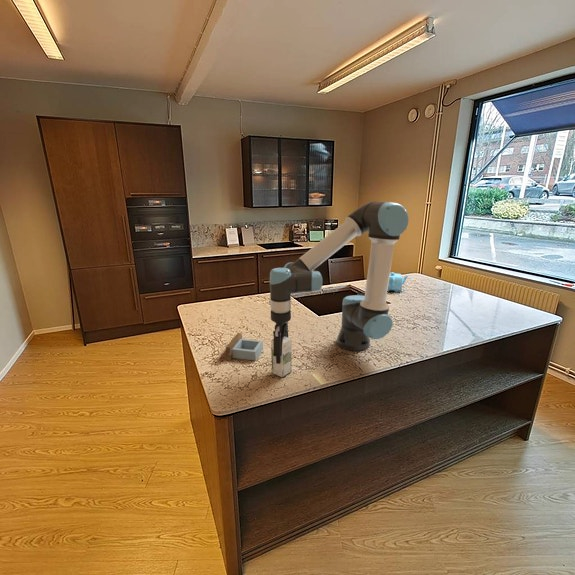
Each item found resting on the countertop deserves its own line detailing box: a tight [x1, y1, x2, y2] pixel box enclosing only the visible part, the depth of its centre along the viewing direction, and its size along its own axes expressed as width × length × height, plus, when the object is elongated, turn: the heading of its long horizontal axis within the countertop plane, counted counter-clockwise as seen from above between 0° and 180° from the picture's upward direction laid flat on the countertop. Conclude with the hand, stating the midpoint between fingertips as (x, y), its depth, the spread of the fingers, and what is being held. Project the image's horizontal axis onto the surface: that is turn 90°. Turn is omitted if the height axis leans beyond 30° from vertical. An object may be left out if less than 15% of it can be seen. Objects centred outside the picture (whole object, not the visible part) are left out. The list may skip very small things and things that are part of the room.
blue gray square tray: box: [232, 338, 264, 361], centre depth 141 cm, size 10×10×4 cm
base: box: [219, 332, 243, 361], centre depth 142 cm, size 5×14×6 cm, turn 167°
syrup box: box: [270, 336, 293, 378], centre depth 124 cm, size 6×6×14 cm
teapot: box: [388, 271, 411, 293], centre depth 227 cm, size 18×16×13 cm
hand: (281, 364), depth 125 cm, fingers closed on syrup box, 7 cm apart
